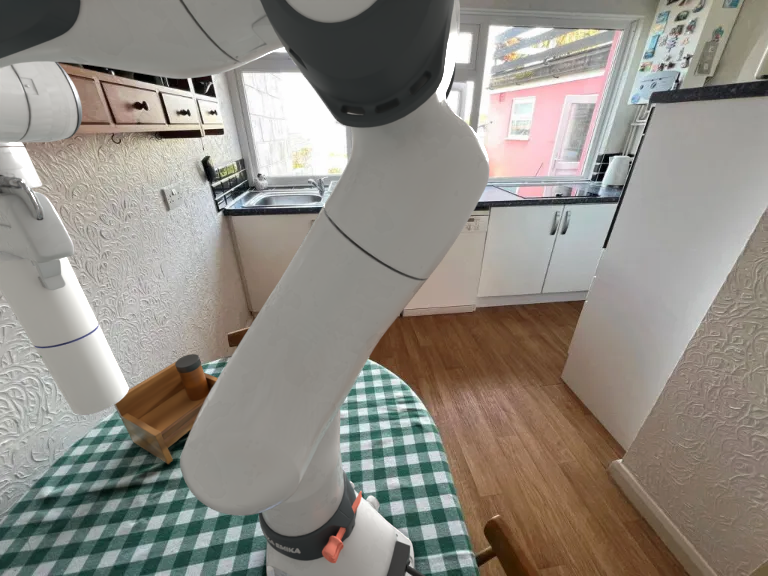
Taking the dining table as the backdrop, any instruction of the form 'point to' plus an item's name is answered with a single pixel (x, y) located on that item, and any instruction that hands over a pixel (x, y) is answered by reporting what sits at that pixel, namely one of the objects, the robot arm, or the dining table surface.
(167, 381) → the spice rack
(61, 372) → the cylindrical container
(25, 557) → the dining table surface
